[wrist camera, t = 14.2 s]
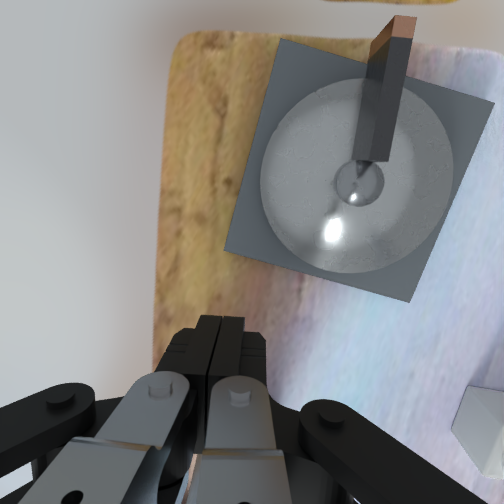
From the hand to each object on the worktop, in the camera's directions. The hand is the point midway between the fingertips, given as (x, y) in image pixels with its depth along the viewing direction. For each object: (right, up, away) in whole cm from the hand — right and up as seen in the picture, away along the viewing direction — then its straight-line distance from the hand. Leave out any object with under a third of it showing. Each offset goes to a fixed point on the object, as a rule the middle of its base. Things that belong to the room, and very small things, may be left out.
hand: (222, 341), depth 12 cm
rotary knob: (+12, +12, +24) cm, 29 cm away
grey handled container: (+31, -18, +33) cm, 49 cm away
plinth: (+12, +11, +26) cm, 31 cm away
